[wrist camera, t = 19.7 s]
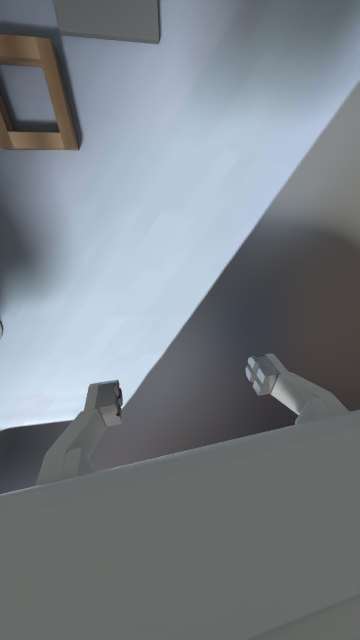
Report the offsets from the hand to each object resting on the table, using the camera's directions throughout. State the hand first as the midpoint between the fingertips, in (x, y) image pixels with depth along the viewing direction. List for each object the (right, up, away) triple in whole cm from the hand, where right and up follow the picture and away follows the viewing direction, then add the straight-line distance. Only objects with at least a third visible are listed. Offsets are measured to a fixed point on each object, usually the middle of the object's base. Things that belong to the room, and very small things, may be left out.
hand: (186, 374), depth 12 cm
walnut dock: (-19, +30, +13) cm, 38 cm away
